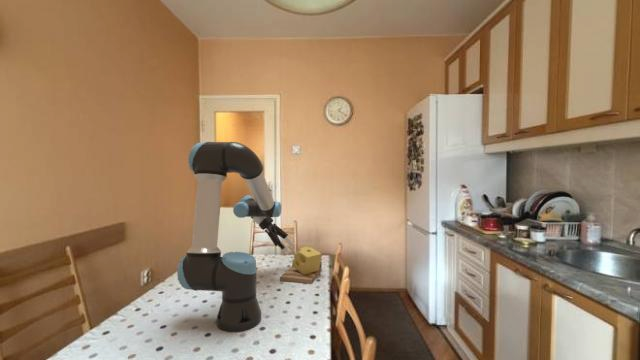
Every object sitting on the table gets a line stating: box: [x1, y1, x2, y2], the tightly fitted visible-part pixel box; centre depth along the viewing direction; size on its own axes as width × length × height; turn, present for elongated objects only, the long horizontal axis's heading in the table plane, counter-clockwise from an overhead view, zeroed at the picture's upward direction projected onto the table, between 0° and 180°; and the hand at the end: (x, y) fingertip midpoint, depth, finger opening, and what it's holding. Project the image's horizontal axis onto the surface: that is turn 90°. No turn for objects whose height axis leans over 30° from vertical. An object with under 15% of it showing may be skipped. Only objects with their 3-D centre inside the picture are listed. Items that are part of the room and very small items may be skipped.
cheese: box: [291, 245, 322, 275], centre depth 149 cm, size 10×11×10 cm
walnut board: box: [279, 258, 323, 285], centre depth 149 cm, size 20×16×5 cm
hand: (291, 249), depth 150 cm, fingers open, 13 cm apart
